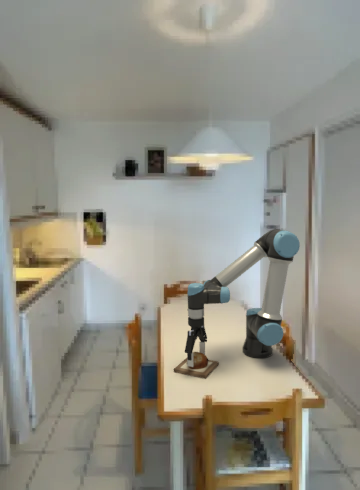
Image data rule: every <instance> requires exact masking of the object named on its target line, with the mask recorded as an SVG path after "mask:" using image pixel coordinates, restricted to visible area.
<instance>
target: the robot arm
mask: <svg viewBox="0 0 360 490" xmlns="http://www.w3.org/2000/svg"><path fill="white" fill-rule="evenodd" d="M300 246H301V245H300V240H299V237H298V236H297V235H296V234H295V233H293V232H291V231H289V230H283V229H280V228H279V229H278V228H274V229H271V230H269V231H266V233H264V234H263V235H262V236H261V237H259V238H258V239H256V241H254V242H253V246H251V247H250V248H249V249H247V251H244V253H242V254H241V255H240V256H238V257H237V258H236V259H235V260H234V261H233V262H232V263H230V264H229V265H227V267H225V268H224V269H223V270H222V271H220V272H219V273H218V274H216V275H215V276H214V277H213V278H211V279H207V280H205V281H204V282H203V283H199V282H194V283H193V282H192V283H190V284H188V286H187V316H188V317H187V325H188V326H189V327H190V330H187V337H186V343H185V347H184V348H185V349H184V353H185V354H187V355H186V358H187V366H190V367H193V353H192V352H194V348H195V344H196V341H197V339H199V341H198V343H199V344H198V345H199V347H198V349H199V352H200V353H203V354H205V355H206V343H207V341H208V335H207V333H206V328H205V305H212V304H215V305H216V304H222V305H223V304H227V303H229V302H230V301H231V300H230V299H231V293H230V289H229V287H228V286H229V285H231V284H232V283H234V281H236V280H238V278H240V277H241V276H242V275H244V274H245V273H246V272H247V271H248V270H250V269H251V268H252V267H253V266H254V265H256V264H257V263H258V262H259V261H261V260H262V259H263V258H268V260H269V266H268V271H267V278H266V282H265V289H264V293H263V300H262V305H261V307H254V308H253V307H251V308H248V309H247V310H246V313H245V318H246V319H245V326H246V327H245V328H246V329H245V340H244V343H243V345H242V353H243V354H244V355H245V356H246V357H250V358H254V359H255V358H256V359H265V358H269V357H271V356H272V355H273V347H272V346H275V345H277V344H279V343H280V342H281V341H282V340H283V337H284V330H283V327H282V322H283V316H282V315H281V308H282V303H283V297H284V292H285V285H286V281H287V275H288V271H289V265H290V264H291V263H293V261H294V259H295V258H294V256H296V255H297V254H298V252H299V251H300Z"/></svg>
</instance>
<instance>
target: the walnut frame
mask: <svg viewBox="0 0 360 490" xmlns="http://www.w3.org/2000/svg"><path fill="white" fill-rule="evenodd" d="M186 363H187V357H186V358H185V359H183V360H182V361H181V362H180V363H179V364H178V365H177V366H175V367H174V368H173V373H177V374H181V375H186V376H191V377H195V378H196V377H197V378H200V379H203V380H204V379H205V380H206V379H207V378H208V377H209V376H210V375H211V374H212V373H213V372H214V371H215V370H216V368H217V367H218V366H219V365H220V364H219V363H220V362H219V360H218V361H217V360H212V359H208V365H207V366H206V367H205V368H202V369H191V368H189V367H188V366H187V364H186Z"/></svg>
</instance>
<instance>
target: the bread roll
mask: <svg viewBox="0 0 360 490" xmlns="http://www.w3.org/2000/svg"><path fill="white" fill-rule="evenodd" d="M192 353H193V367H190V366H188V367H189V368H191V369H202V368H205V367H206V366H207V365H208V360H209V358H208V357H207V354H206V353H205V354H203V353H200V352H198V351H193V352H192ZM186 364H187V363H186Z"/></svg>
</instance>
